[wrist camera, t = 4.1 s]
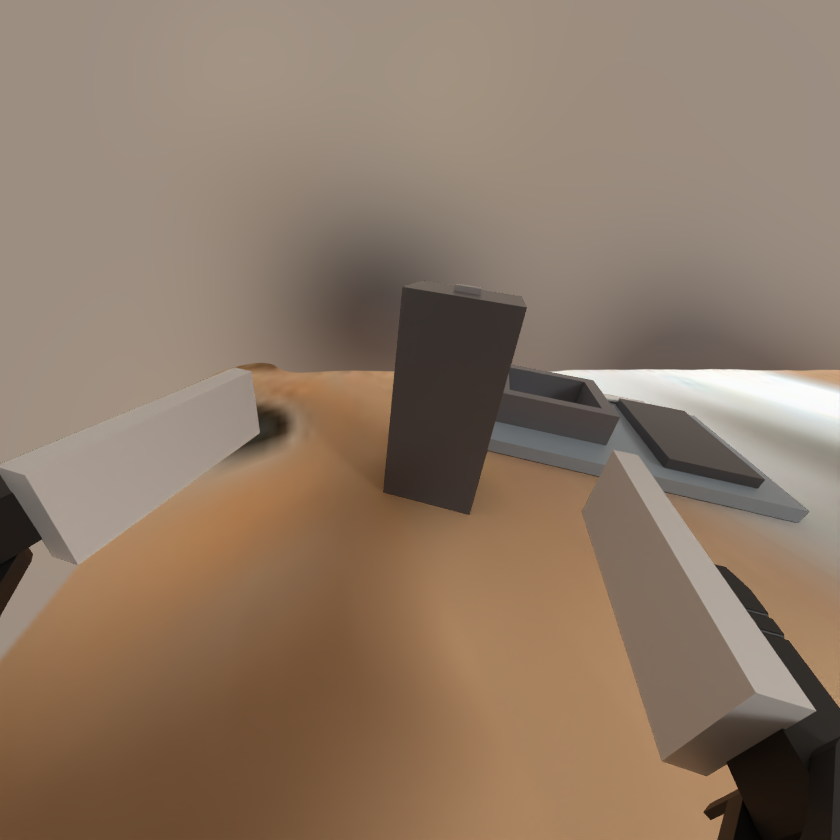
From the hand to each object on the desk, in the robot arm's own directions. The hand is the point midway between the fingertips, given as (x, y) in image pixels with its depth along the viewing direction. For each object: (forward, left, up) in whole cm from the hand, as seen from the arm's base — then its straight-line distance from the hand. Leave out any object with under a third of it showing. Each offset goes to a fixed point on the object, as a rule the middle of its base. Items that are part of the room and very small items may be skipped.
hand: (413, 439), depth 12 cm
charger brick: (-1, -6, -6) cm, 9 cm away
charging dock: (-14, -18, -6) cm, 23 cm away
